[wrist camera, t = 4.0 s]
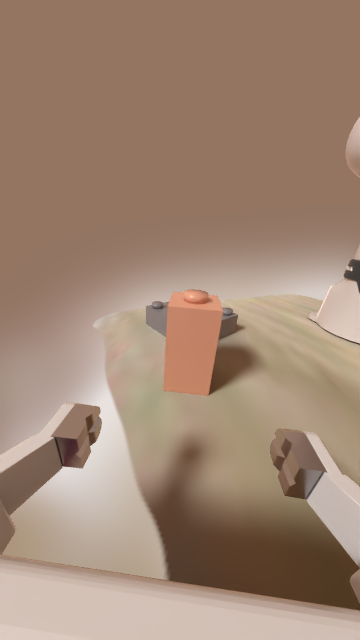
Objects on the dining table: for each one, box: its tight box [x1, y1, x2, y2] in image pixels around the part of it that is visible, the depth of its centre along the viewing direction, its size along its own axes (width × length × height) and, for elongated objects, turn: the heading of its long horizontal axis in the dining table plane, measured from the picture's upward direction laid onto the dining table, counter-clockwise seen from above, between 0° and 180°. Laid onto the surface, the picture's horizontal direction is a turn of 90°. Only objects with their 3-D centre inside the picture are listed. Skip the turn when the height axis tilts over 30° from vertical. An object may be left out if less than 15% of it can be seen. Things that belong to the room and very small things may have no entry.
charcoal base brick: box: [146, 301, 238, 339], centre depth 35 cm, size 12×12×5 cm
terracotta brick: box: [163, 290, 223, 396], centre depth 21 cm, size 5×5×11 cm
